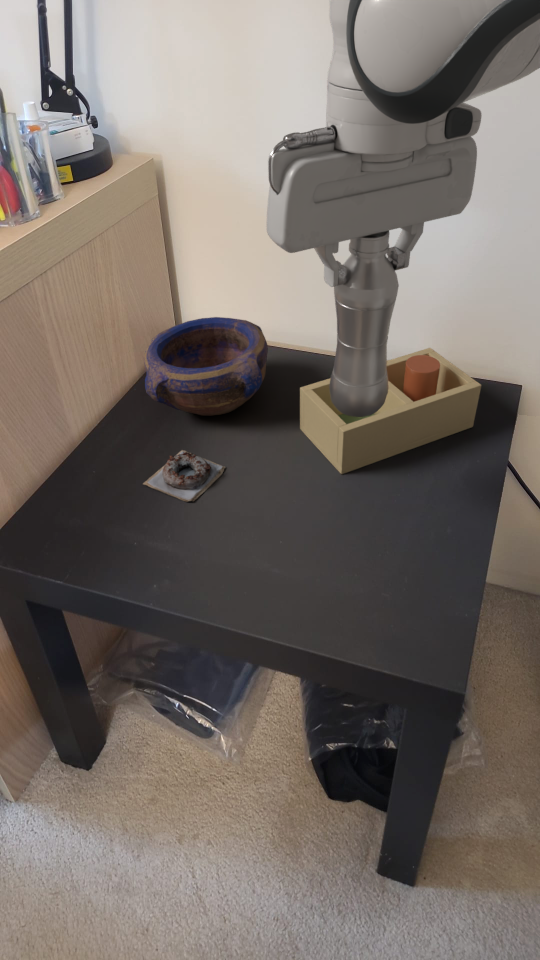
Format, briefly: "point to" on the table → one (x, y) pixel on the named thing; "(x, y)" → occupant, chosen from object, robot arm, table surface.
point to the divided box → (389, 416)
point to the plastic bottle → (363, 327)
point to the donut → (185, 476)
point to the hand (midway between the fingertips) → (366, 275)
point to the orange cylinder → (421, 377)
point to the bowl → (206, 365)
